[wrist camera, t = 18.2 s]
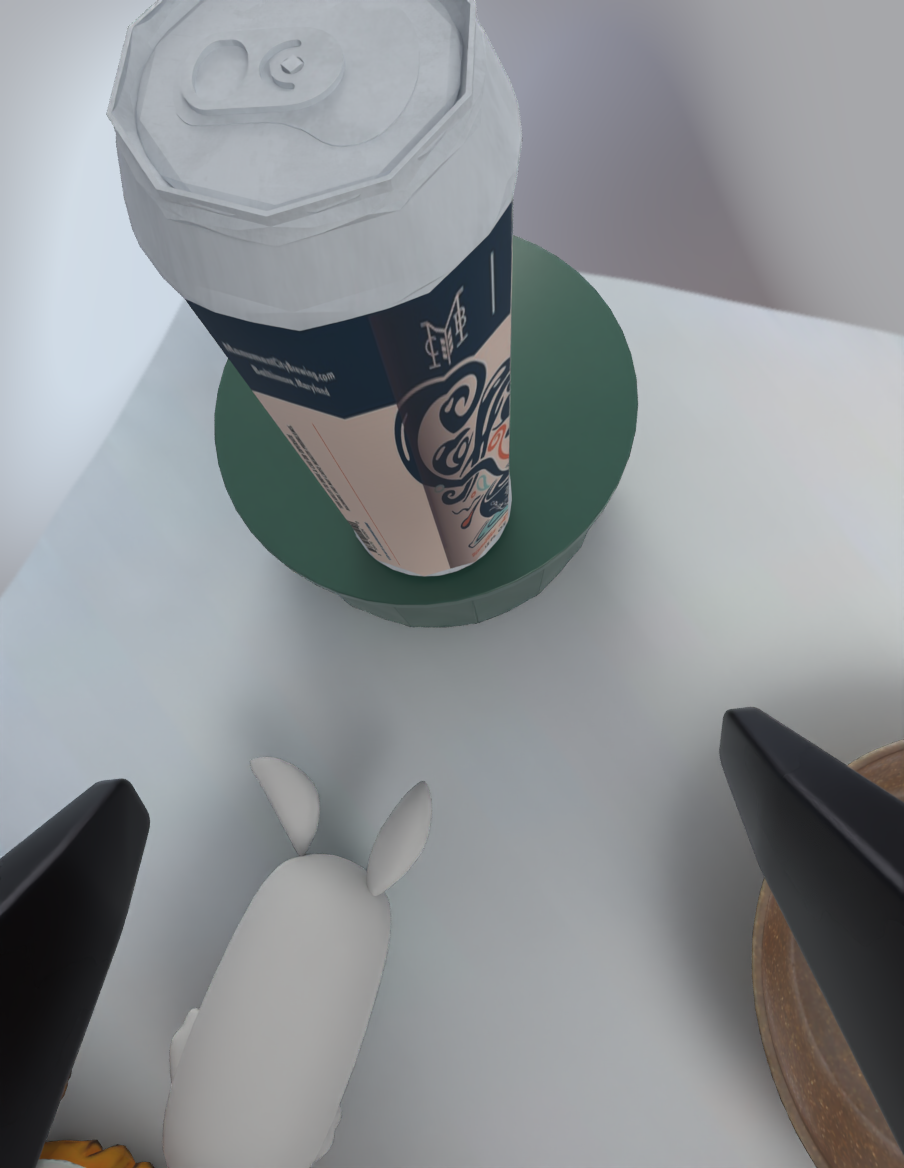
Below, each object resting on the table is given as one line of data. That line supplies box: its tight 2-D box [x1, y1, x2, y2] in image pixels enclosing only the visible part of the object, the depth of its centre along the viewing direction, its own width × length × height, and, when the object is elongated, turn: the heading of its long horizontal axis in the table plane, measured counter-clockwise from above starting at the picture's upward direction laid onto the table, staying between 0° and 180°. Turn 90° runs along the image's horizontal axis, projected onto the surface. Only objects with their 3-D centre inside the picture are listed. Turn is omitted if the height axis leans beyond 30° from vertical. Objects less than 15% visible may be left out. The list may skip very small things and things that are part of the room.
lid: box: [215, 235, 638, 608], centre depth 19 cm, size 13×13×2 cm
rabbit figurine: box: [163, 757, 432, 1168], centre depth 18 cm, size 6×5×12 cm
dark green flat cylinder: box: [339, 532, 587, 627], centre depth 22 cm, size 13×13×5 cm
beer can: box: [106, 0, 522, 576], centre depth 12 cm, size 5×5×12 cm
